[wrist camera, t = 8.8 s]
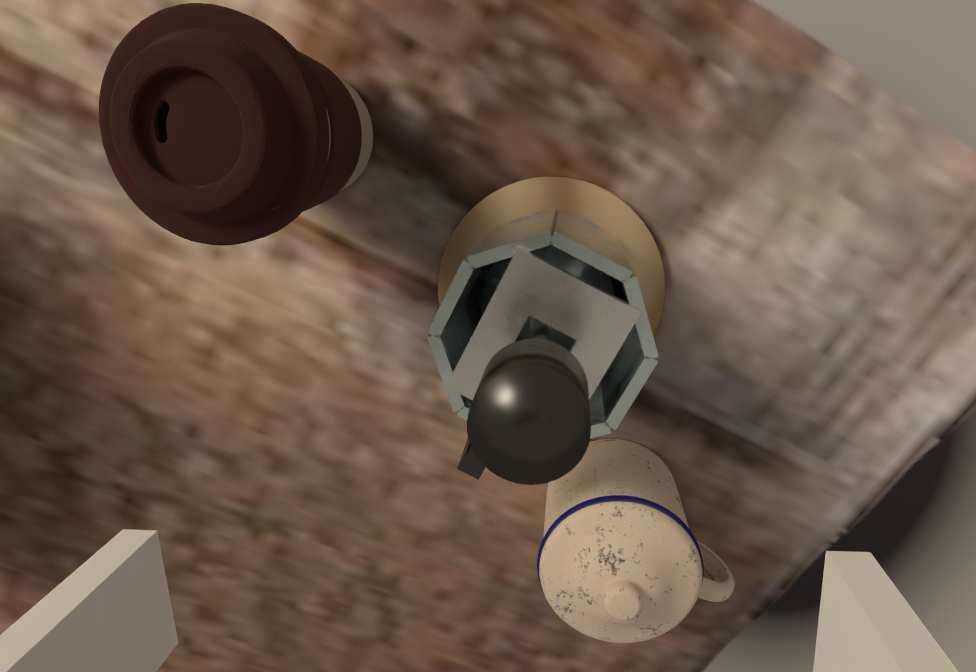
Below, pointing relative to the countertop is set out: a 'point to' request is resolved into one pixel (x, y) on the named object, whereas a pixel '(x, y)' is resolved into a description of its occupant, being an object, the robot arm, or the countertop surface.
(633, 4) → the countertop surface
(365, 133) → the coffee cup
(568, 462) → the plunger
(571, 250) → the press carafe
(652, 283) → the cork trivet
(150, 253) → the countertop surface
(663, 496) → the teacup with lid
